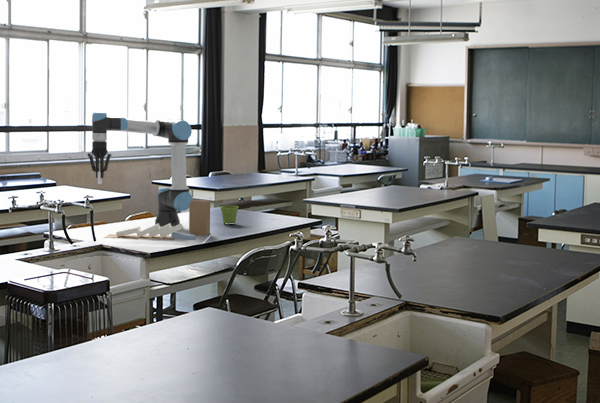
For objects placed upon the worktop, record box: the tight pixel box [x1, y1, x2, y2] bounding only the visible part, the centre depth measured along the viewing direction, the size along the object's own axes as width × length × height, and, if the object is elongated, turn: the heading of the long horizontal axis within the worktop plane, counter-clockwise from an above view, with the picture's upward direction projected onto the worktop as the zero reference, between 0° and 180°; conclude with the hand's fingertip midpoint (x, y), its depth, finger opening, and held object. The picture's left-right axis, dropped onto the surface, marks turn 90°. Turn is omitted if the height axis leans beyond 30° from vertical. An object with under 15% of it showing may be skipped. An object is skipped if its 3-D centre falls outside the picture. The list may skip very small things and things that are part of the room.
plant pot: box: [219, 205, 239, 224], centre depth 427 cm, size 12×12×11 cm
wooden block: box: [188, 199, 211, 237], centre depth 381 cm, size 10×10×20 cm
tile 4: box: [159, 223, 184, 238], centre depth 366 cm, size 5×3×12 cm
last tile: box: [170, 231, 196, 240], centre depth 366 cm, size 5×3×12 cm
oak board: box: [103, 233, 176, 241], centre depth 367 cm, size 12×38×1 cm, turn 89°
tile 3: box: [148, 223, 173, 238], centre depth 366 cm, size 5×3×12 cm
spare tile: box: [115, 225, 142, 237], centre depth 367 cm, size 5×3×12 cm
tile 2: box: [136, 223, 162, 238], centre depth 367 cm, size 5×3×12 cm
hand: (99, 184), depth 372 cm, fingers closed
